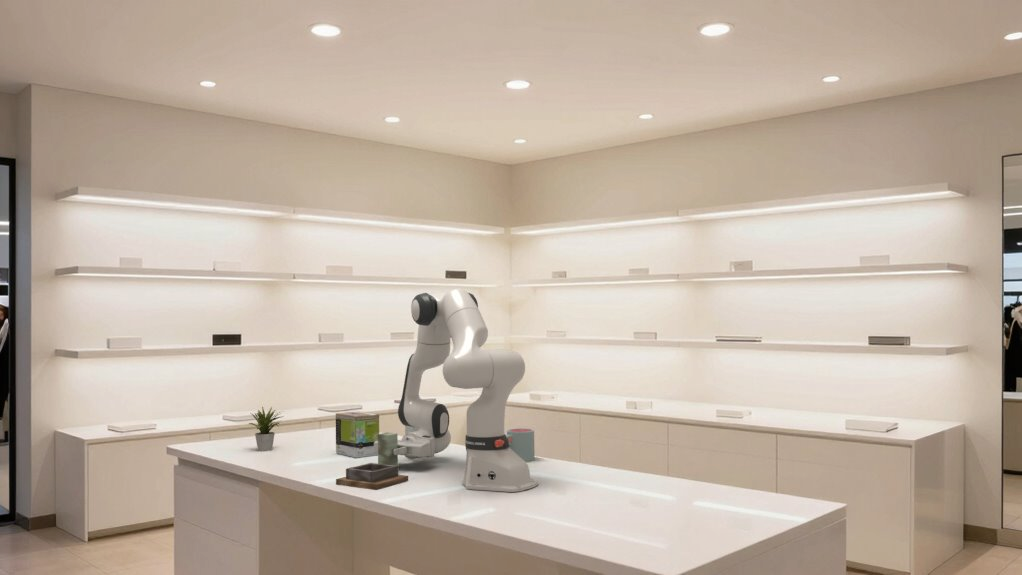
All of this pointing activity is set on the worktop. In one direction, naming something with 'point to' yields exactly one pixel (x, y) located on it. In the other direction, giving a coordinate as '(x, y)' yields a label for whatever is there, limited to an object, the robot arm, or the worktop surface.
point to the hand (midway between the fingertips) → (386, 451)
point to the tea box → (356, 433)
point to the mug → (522, 443)
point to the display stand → (372, 476)
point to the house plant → (265, 430)
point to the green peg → (387, 448)
